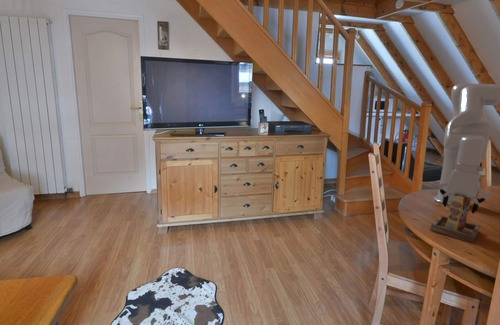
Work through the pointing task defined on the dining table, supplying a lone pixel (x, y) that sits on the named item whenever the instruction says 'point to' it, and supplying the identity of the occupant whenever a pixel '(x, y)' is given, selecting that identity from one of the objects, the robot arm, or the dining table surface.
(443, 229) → the tray
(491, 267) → the dining table surface
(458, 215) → the candy box
